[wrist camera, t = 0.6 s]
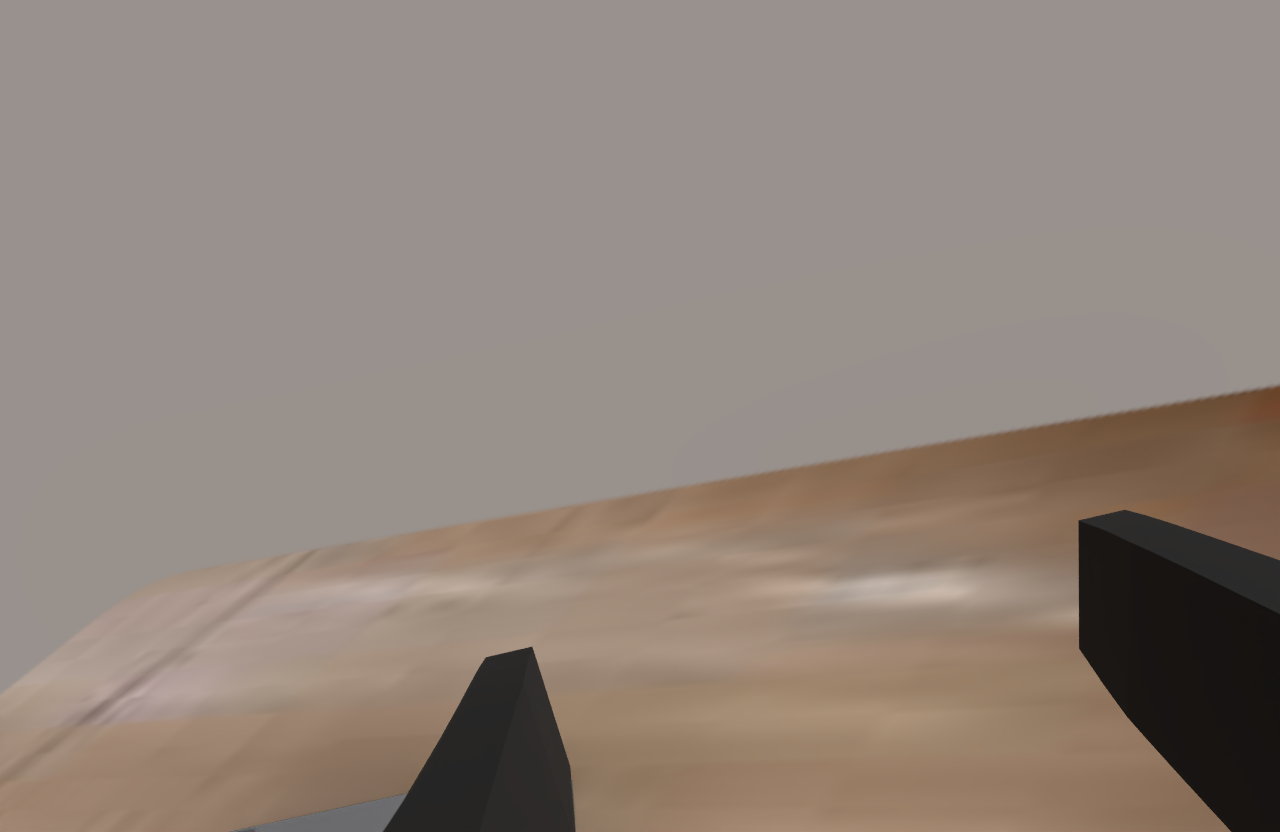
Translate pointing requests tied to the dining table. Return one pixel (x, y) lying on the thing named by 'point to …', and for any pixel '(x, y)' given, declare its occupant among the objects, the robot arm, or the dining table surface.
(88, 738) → the dining table surface
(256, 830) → the bay
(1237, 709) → the robot arm
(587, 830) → the dining table surface
